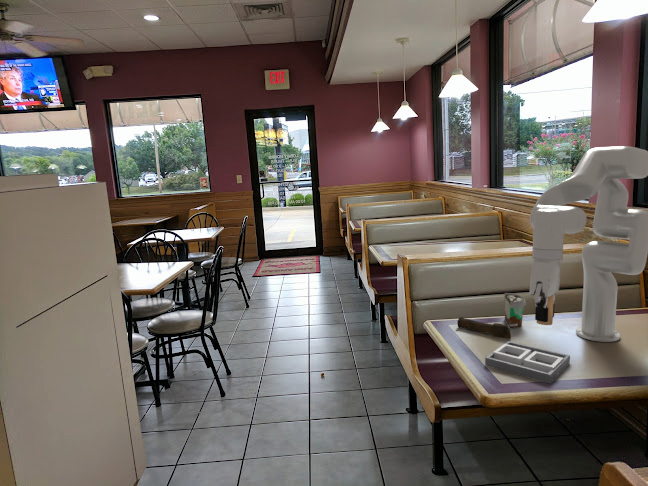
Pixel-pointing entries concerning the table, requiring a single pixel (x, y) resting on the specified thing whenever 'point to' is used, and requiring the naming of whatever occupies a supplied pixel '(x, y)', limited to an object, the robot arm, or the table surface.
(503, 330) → the hand tool
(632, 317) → the table surface
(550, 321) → the rounded peg
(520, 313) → the food container
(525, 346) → the tray
